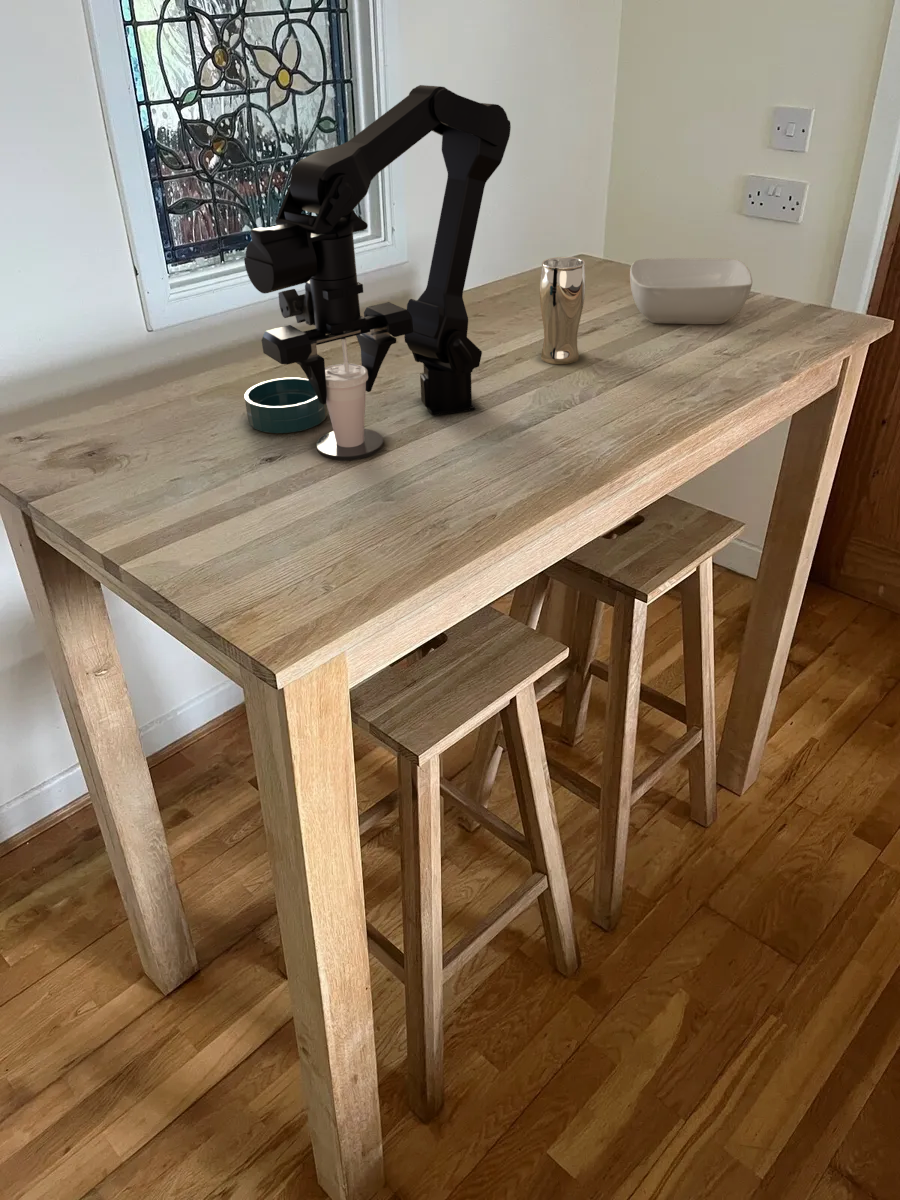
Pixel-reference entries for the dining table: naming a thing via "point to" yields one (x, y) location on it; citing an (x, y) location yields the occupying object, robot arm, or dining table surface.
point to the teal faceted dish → (284, 406)
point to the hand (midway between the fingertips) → (345, 397)
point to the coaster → (333, 451)
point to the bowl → (689, 289)
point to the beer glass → (561, 307)
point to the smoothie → (346, 400)
